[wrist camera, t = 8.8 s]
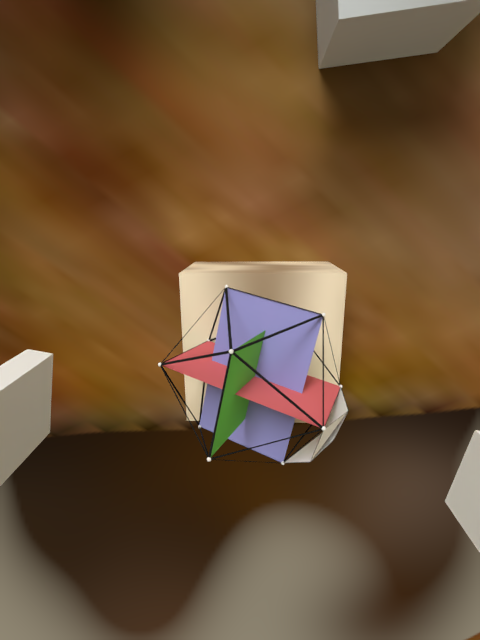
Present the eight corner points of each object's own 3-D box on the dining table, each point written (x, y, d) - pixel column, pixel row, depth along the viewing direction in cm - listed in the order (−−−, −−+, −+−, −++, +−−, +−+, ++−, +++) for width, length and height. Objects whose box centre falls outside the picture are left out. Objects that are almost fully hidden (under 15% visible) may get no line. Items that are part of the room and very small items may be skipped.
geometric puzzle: (129, 410, 17) (216, 549, 11) (148, 267, 15) (265, 339, 9) (250, 391, 21) (360, 484, 15) (276, 278, 19) (413, 332, 13)
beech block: (200, 380, 24) (186, 420, 20) (195, 261, 22) (178, 273, 17) (320, 382, 24) (336, 423, 19) (327, 260, 22) (347, 273, 17)
